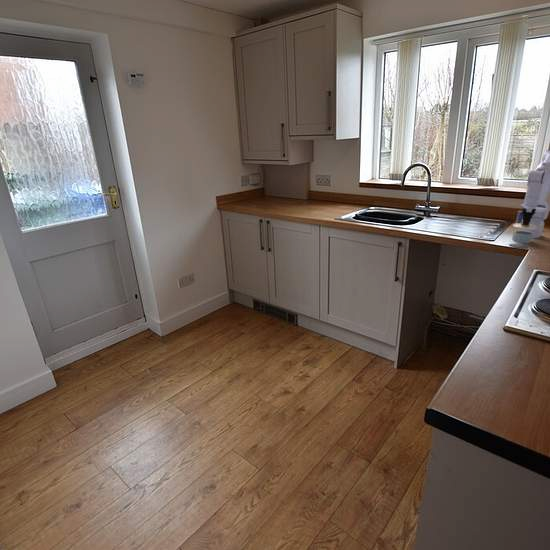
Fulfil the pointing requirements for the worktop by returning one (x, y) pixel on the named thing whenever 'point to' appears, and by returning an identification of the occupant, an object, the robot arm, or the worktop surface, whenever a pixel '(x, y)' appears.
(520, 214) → the flask
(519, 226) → the lid
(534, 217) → the robot arm
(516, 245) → the mat
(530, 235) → the bowl
